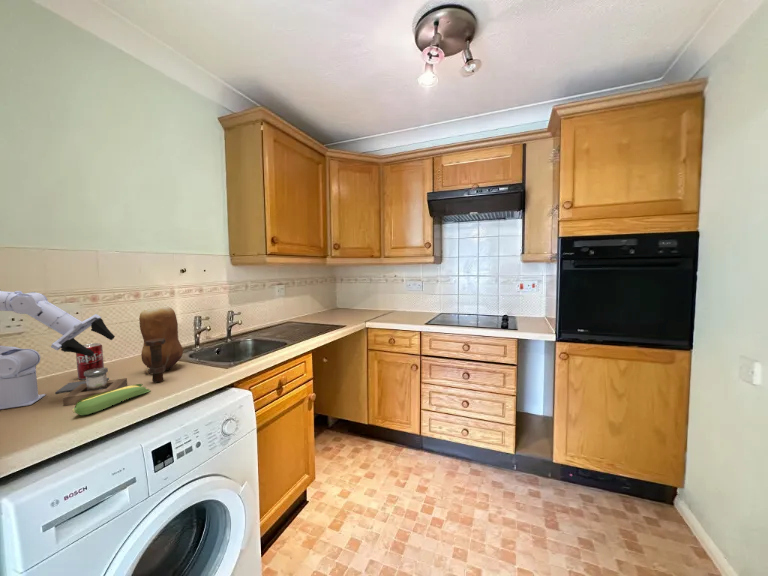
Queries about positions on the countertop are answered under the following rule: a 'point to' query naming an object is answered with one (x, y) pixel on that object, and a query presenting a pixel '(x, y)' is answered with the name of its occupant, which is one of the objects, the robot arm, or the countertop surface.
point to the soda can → (89, 360)
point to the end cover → (96, 379)
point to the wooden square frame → (82, 391)
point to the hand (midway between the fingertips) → (103, 346)
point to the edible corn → (108, 399)
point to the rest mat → (71, 386)
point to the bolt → (156, 359)
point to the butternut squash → (161, 335)
